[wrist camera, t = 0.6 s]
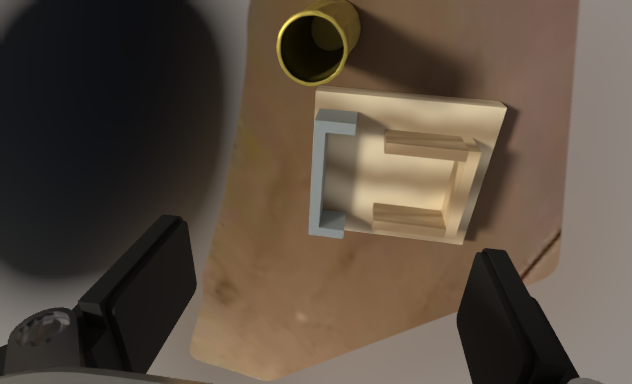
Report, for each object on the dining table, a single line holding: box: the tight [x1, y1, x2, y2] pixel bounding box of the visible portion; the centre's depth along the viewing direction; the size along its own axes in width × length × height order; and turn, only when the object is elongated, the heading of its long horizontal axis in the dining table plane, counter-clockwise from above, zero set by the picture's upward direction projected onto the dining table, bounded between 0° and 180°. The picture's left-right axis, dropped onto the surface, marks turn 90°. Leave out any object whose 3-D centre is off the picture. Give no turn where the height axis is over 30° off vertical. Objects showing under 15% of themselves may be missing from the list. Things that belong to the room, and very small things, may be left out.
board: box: [309, 85, 507, 245], centre depth 42 cm, size 18×20×6 cm
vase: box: [276, 0, 361, 86], centre depth 32 cm, size 6×6×14 cm
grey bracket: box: [308, 108, 358, 239], centre depth 42 cm, size 14×4×4 cm, turn 177°
